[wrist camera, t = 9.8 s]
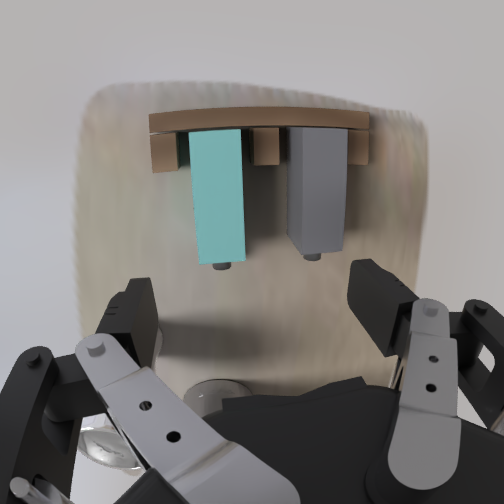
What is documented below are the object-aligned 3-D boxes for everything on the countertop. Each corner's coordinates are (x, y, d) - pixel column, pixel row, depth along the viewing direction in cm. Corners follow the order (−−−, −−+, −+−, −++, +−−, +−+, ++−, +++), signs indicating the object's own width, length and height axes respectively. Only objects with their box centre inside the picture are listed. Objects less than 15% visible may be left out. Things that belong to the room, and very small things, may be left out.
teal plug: (239, 253, 30) (246, 277, 25) (201, 256, 29) (201, 281, 25) (234, 128, 25) (240, 129, 21) (191, 131, 25) (188, 132, 20)
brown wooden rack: (355, 161, 27) (367, 165, 25) (157, 168, 25) (152, 173, 23) (356, 112, 26) (369, 112, 23) (154, 115, 23) (148, 114, 21)
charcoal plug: (321, 245, 31) (340, 267, 26) (286, 248, 30) (300, 271, 26) (324, 127, 26) (347, 129, 22) (285, 126, 26) (302, 127, 21)
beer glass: (119, 361, 33) (95, 469, 19) (97, 313, 30) (52, 424, 16) (174, 355, 33) (169, 471, 20) (157, 305, 30) (135, 426, 17)
